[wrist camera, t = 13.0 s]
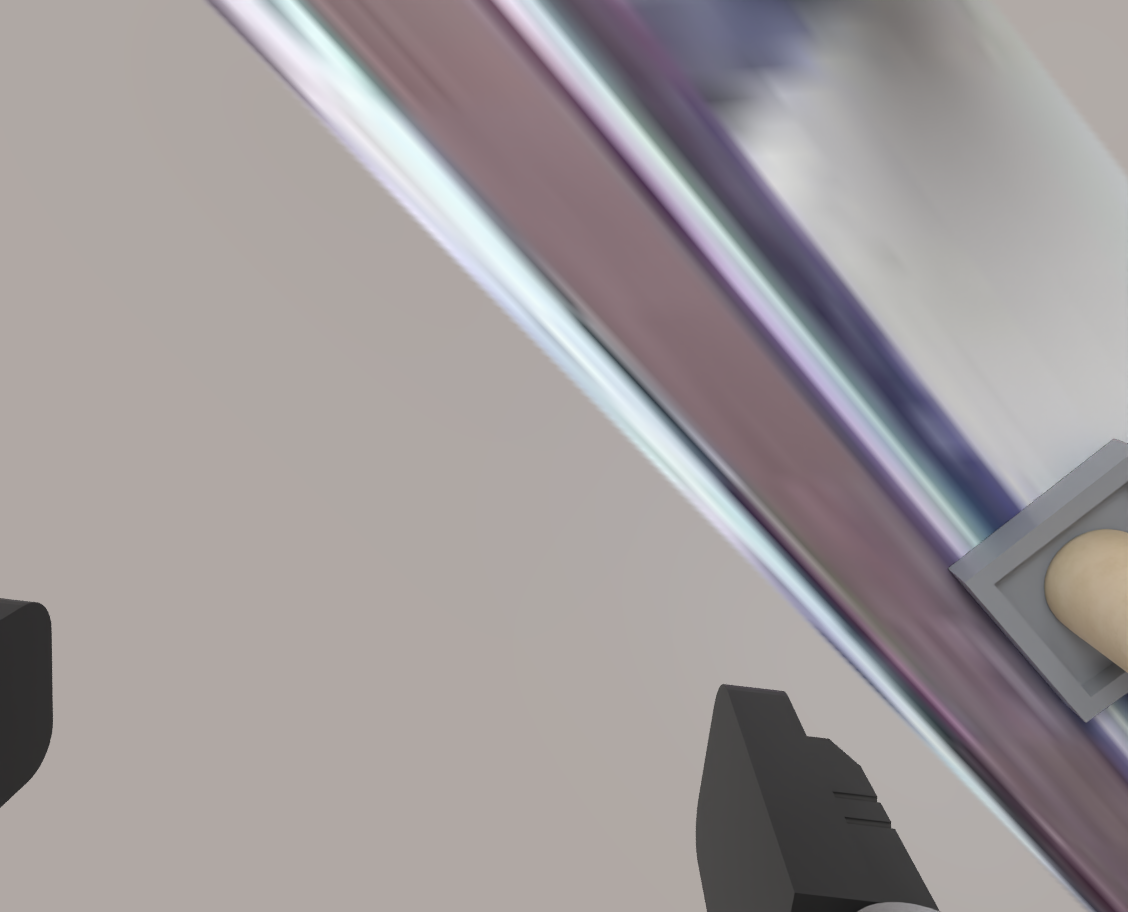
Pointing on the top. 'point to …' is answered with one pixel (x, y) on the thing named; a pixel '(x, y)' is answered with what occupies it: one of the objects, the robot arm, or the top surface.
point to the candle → (1093, 591)
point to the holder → (1019, 565)
